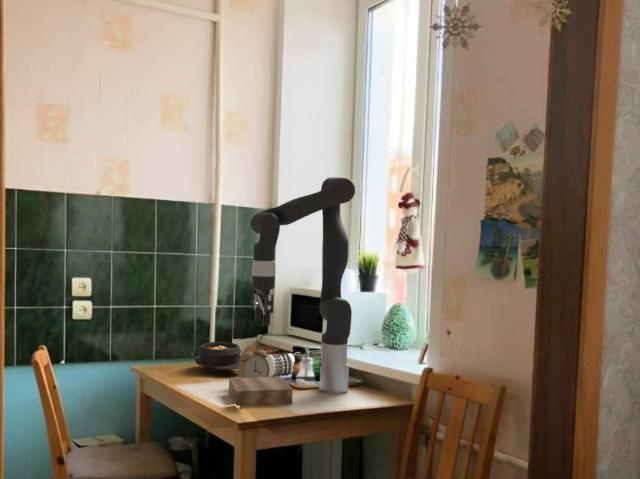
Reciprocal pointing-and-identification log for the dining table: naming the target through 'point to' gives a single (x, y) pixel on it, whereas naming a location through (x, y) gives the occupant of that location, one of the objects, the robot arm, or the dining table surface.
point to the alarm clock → (253, 364)
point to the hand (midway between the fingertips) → (262, 323)
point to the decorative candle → (281, 364)
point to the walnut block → (260, 391)
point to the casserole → (219, 356)
